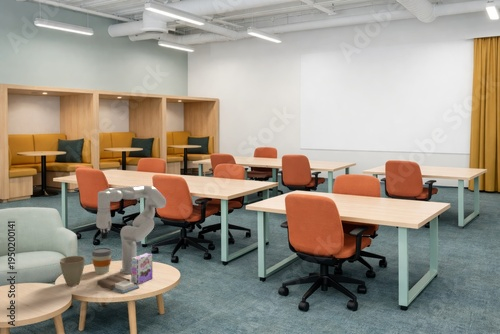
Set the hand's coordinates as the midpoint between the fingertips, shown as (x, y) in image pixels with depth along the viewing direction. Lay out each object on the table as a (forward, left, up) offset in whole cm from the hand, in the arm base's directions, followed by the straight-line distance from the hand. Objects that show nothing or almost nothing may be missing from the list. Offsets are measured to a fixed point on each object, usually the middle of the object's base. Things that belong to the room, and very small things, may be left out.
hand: (104, 238), depth 294 cm
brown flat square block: (+3, +13, -27) cm, 30 cm away
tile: (+4, +24, -26) cm, 36 cm away
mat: (+3, +25, -27) cm, 37 cm away
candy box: (-13, +21, -27) cm, 37 cm away
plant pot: (+18, -8, -27) cm, 34 cm away
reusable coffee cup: (-8, -14, -27) cm, 32 cm away
